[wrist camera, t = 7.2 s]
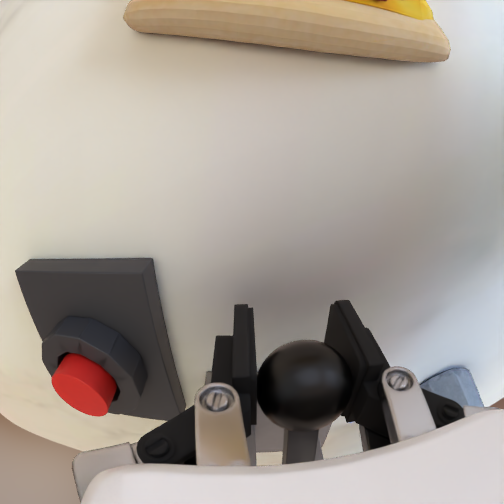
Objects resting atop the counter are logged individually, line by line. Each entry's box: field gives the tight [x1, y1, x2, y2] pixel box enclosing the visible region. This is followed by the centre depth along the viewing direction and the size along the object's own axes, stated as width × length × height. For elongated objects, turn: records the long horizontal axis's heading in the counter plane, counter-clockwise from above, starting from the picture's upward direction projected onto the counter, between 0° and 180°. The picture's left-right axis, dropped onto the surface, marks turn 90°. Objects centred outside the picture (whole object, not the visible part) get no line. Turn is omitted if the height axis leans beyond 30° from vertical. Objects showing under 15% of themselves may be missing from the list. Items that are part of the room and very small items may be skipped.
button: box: [52, 353, 117, 416], centre depth 12 cm, size 4×4×2 cm
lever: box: [257, 340, 353, 465], centre depth 8 cm, size 15×3×3 cm, turn 1°
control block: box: [15, 258, 186, 421], centre depth 14 cm, size 12×9×4 cm
